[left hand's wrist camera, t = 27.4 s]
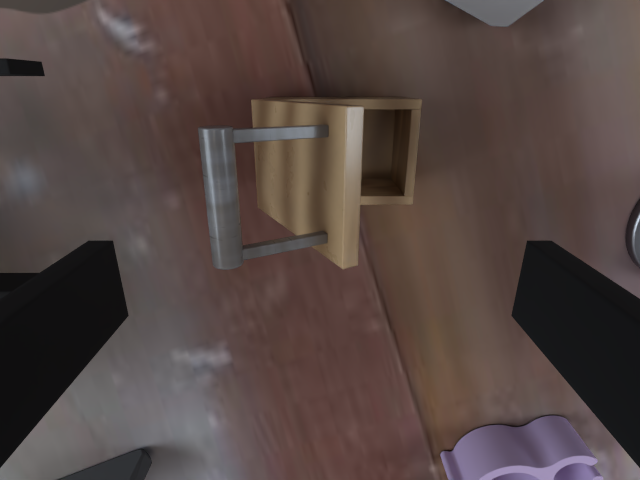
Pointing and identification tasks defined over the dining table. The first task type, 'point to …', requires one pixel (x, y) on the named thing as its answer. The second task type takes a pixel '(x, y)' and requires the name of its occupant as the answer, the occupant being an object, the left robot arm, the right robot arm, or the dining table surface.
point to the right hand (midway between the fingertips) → (58, 188)
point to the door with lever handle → (288, 180)
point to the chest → (384, 146)
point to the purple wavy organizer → (522, 453)
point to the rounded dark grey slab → (117, 468)
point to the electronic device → (496, 10)
